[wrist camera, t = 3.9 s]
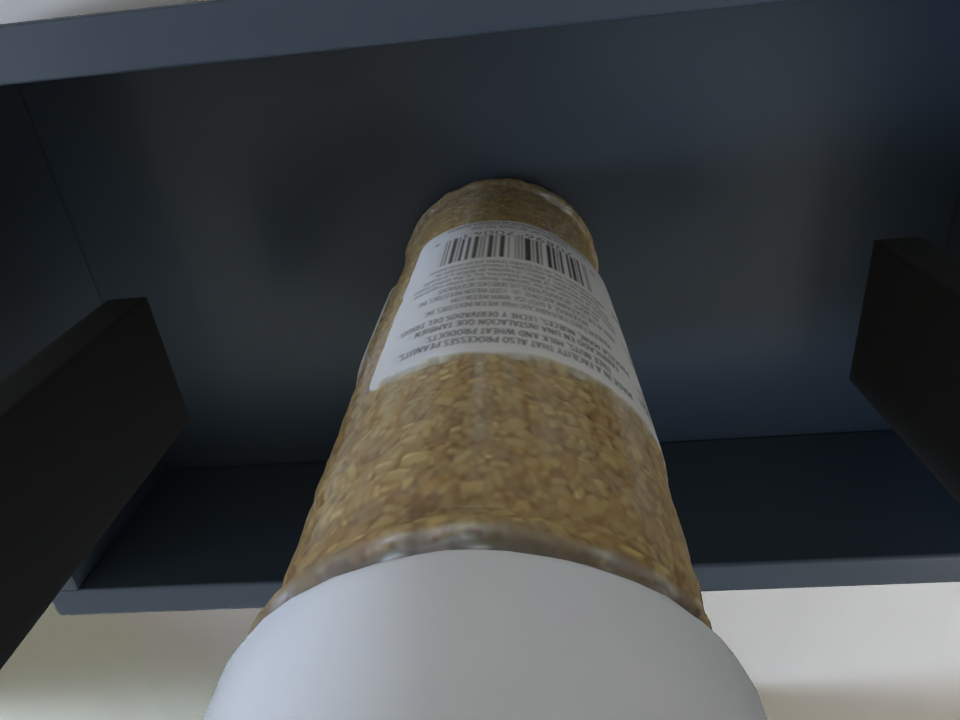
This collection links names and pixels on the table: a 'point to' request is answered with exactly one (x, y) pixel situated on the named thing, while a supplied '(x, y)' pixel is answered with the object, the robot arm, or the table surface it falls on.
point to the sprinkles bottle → (491, 507)
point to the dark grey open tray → (455, 163)
